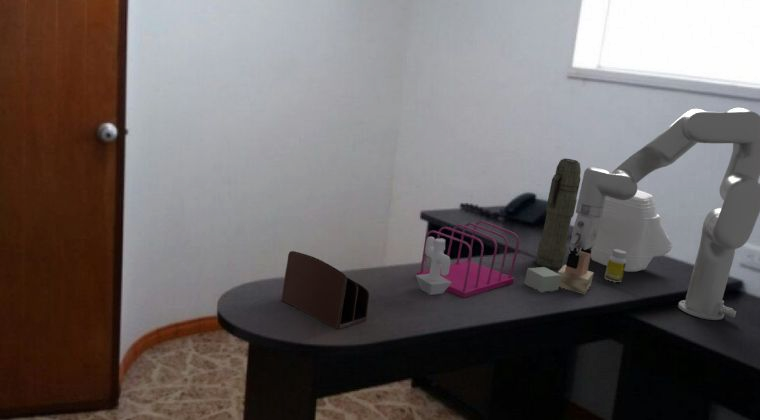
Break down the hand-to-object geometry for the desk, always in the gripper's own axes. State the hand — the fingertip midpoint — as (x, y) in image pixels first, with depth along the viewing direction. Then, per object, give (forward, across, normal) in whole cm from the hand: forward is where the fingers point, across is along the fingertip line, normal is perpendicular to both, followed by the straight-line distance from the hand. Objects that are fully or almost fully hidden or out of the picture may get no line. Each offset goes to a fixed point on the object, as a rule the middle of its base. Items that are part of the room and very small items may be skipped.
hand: (577, 264), depth 226 cm
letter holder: (+7, -79, +33) cm, 86 cm away
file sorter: (+7, -26, +23) cm, 36 cm away
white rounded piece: (+7, +37, -1) cm, 38 cm away
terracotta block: (+2, 0, 0) cm, 2 cm away
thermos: (+7, +14, +14) cm, 21 cm away
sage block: (+7, -10, +6) cm, 14 cm away
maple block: (+7, 0, 0) cm, 7 cm away
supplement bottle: (+7, +19, -6) cm, 21 cm away
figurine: (+7, -43, +24) cm, 50 cm away
